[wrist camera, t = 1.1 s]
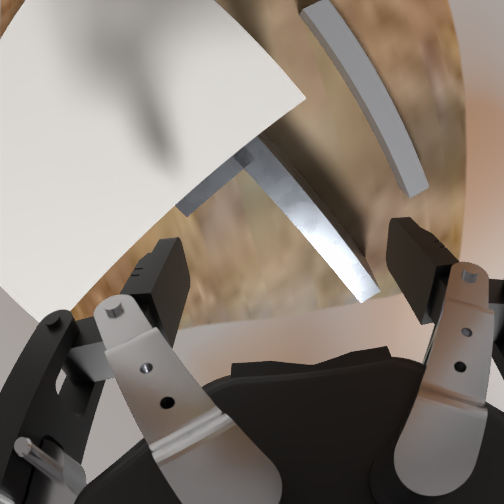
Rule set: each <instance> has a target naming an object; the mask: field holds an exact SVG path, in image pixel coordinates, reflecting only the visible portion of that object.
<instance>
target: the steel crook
mask: <svg viewBox="0 0 504 504" xmlns="http://www.w3.org/2000/svg"><path fill="white" fill-rule="evenodd" d="M243 169H245V170H246V171H247V172H248V174H249V175H250V176H251V177H252V178H253V179H254V180H255V181H256V182H257V183H258V184H259V185H260V187H261V188H262V189H263V190H264V191H265V192H266V193H267V194H268V195H269V196H270V198H271V199H272V200H273V201H274V202H275V203H276V204H277V205H278V206H279V208H280V209H281V210H282V211H283V212H284V213H285V214H286V215H287V217H288V218H289V219H290V220H291V221H292V222H293V223H294V224H295V226H296V227H297V228H298V229H299V230H300V231H301V232H302V234H303V235H304V236H305V237H306V238H307V239H308V241H309V242H310V243H311V244H312V245H313V246H314V248H315V249H316V250H317V251H318V252H319V253H320V255H321V256H322V257H323V258H324V259H325V260H326V262H327V263H328V264H329V265H330V266H331V268H332V269H333V270H334V271H335V272H336V273H337V275H338V276H339V277H340V278H341V279H342V281H343V282H344V283H345V284H346V286H347V287H348V288H349V289H350V290H351V292H352V293H353V294H354V295H355V297H356V298H357V299H358V300H359V301H360V303H362V302H364V301H365V300H367V299H368V298H370V297H372V296H373V295H375V294H376V293H378V292H380V288H379V286H378V284H377V282H376V280H375V277H374V275H373V273H372V271H371V269H370V267H369V265H368V262H367V260H366V258H365V257H364V255H363V254H362V253H361V251H360V250H359V248H358V247H357V246H356V244H355V243H354V242H353V240H352V239H351V238H350V236H349V235H348V233H347V232H346V231H345V229H344V228H343V227H342V225H341V224H340V223H339V222H338V220H337V219H336V218H335V216H334V215H333V214H332V212H331V211H330V210H329V209H328V207H327V206H326V205H325V203H324V202H323V201H322V200H321V198H320V197H319V196H318V195H317V193H316V192H315V191H314V190H313V188H312V187H311V186H310V185H309V183H308V182H307V181H306V180H305V179H304V177H303V176H302V175H301V174H300V172H299V171H298V170H297V169H296V168H295V166H294V165H293V164H292V163H291V162H290V161H289V159H288V158H287V157H286V156H285V155H284V153H283V152H282V151H281V150H280V149H279V148H278V147H277V145H276V144H275V143H274V142H273V141H272V140H271V139H270V137H269V136H268V135H267V134H266V133H265V132H264V131H262V132H261V133H260V134H259V135H257V136H256V137H255V138H253V139H252V140H251V141H250V142H248V143H247V144H246V145H245V146H243V147H242V148H241V149H240V150H239V151H237V152H236V153H235V154H234V155H232V156H231V157H230V158H229V159H228V160H226V161H225V162H224V163H223V164H222V165H220V166H219V167H218V168H217V169H216V170H214V171H213V172H212V173H211V174H210V175H209V176H207V177H206V178H205V179H204V180H203V181H202V182H200V183H199V184H198V185H197V186H196V187H195V188H194V189H192V190H191V191H190V192H189V193H188V194H187V195H186V196H185V197H183V198H182V199H181V200H180V201H179V202H178V203H177V204H176V205H175V206H176V207H177V208H178V209H179V210H180V211H181V212H182V213H183V214H184V215H185V216H186V217H188V216H189V215H190V214H191V213H192V212H193V211H194V210H196V209H197V208H198V207H199V206H200V205H201V204H202V203H204V202H205V201H206V200H207V199H208V198H209V197H211V196H212V195H213V194H214V193H215V192H216V191H218V190H219V189H220V188H221V187H222V186H223V185H225V184H226V183H227V182H228V181H229V180H231V179H232V178H233V177H234V176H235V175H237V174H238V173H239V172H240V171H241V170H243Z"/></svg>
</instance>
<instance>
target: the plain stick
mask: <svg viewBox="0 0 504 504" xmlns="http://www.w3.org/2000/svg"><path fill="white" fill-rule="evenodd" d="M299 15H300V17H301V18H302V19H303V21H304V22H305V23H306V25H307V26H308V27H309V29H310V30H311V31H312V33H313V34H314V36H315V37H316V38H317V40H318V41H319V43H320V44H321V45H322V47H323V48H324V50H325V51H326V53H327V54H328V56H329V57H330V59H331V60H332V62H333V63H334V65H335V66H336V68H337V69H338V71H339V73H340V74H341V76H342V77H343V79H344V81H345V82H346V84H347V86H348V87H349V89H350V91H351V92H352V94H353V96H354V97H355V99H356V101H357V103H358V104H359V106H360V108H361V110H362V111H363V113H364V115H365V117H366V119H367V121H368V122H369V124H370V126H371V128H372V130H373V132H374V134H375V136H376V138H377V140H378V142H379V144H380V146H381V148H382V150H383V152H384V154H385V156H386V158H387V160H388V162H389V165H390V167H391V169H392V171H393V173H394V175H395V178H396V180H397V182H398V185H399V187H400V189H401V190H402V191H403V192H404V193H405V194H406V195H407V196H408V197H409V198H412V197H414V196H415V195H417V194H419V193H420V192H422V191H424V190H426V189H427V188H429V185H428V182H427V180H426V177H425V174H424V172H423V169H422V166H421V164H420V161H419V159H418V156H417V154H416V151H415V149H414V147H413V144H412V142H411V140H410V137H409V135H408V133H407V131H406V129H405V126H404V124H403V122H402V120H401V118H400V116H399V114H398V112H397V110H396V108H395V106H394V104H393V102H392V100H391V98H390V96H389V94H388V92H387V90H386V88H385V86H384V85H383V83H382V81H381V79H380V77H379V75H378V74H377V72H376V70H375V69H374V67H373V65H372V63H371V62H370V60H369V58H368V57H367V55H366V53H365V52H364V50H363V49H362V47H361V45H360V44H359V42H358V41H357V39H356V38H355V36H354V35H353V33H352V32H351V30H350V29H349V27H348V26H347V24H346V23H345V21H344V20H343V19H342V17H341V16H340V14H339V13H338V12H337V10H336V9H335V8H334V6H333V5H332V4H331V2H330V1H329V0H321V1H319V2H316V3H314V4H312V5H310V6H308V7H306V8H304V9H303V10H302V11H301V13H300V14H299Z"/></svg>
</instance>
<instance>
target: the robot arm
mask: <svg viewBox="0 0 504 504" xmlns="http://www.w3.org/2000/svg"><path fill="white" fill-rule="evenodd" d="M386 263H387V267H388V270H389V271H390V273H391V275H392V276H393V278H394V279H395V281H396V283H397V284H398V286H399V288H400V289H401V291H402V293H403V294H404V296H405V298H406V299H407V301H408V303H409V304H410V306H411V308H412V310H413V311H414V313H415V315H416V317H417V318H418V320H419V322H420V324H421V325H423V324H428V323H434V324H435V326H434V329H433V332H432V335H431V338H430V342H429V344H428V347H427V351H426V354H425V357H424V360H423V363H422V364H421V363H419V362H416V361H413V360H410V359H405V358H399V357H391V354H390V352H389V349H388V347H387V346H384V347H379V348H373V349H367V350H360V351H354V352H350V353H347V354H344V355H341V356H339V357H336V358H333V359H330V360H327V361H324V362H321V363H318V364H315V365H305V364H295V363H284V362H276V361H263V362H248V363H233V364H232V367H231V375H229V376H225V377H222V378H220V379H216V380H214V381H212V382H210V383H208V384H206V385H204V386H203V387H201V386H200V385H199V384H198V383H197V381H196V380H195V379H194V378H193V376H192V375H191V374H190V372H189V371H188V370H187V368H186V367H185V366H184V365H183V363H182V362H181V360H180V359H179V358H178V356H177V355H176V354H175V352H174V351H173V350H172V348H173V345H174V341H175V337H176V334H177V330H178V327H179V323H180V320H181V316H182V313H183V309H184V306H185V302H186V299H187V295H188V292H189V289H190V275H189V270H188V266H187V262H186V258H185V254H184V250H183V246H182V242H181V240H180V238H179V237H176V238H167V239H160V240H159V241H158V243H157V245H156V246H155V248H154V250H153V251H152V253H148V254H146V255H145V256H144V257H143V258H142V259H140V260H139V262H138V263H137V265H136V267H135V268H134V269H135V270H133V272H132V273H131V277H129V279H128V280H127V282H126V284H125V286H124V287H123V289H122V291H121V293H120V294H119V295H115V296H112V297H109V298H107V299H106V300H104V301H103V302H101V303H100V304H99V305H98V306H97V307H96V309H95V311H94V316H93V317H89V318H85V319H82V320H78V321H75V319H74V317H73V315H72V313H71V312H70V311H69V310H65V309H62V310H57V311H54V312H52V313H50V314H48V315H47V316H46V317H44V318H43V319H42V320H41V322H40V323H39V325H38V326H37V328H36V330H35V331H34V333H33V334H32V336H31V338H30V339H29V341H28V343H27V344H26V346H25V348H24V350H23V351H22V353H21V355H20V357H19V358H18V360H17V362H16V363H15V365H14V367H13V369H12V371H11V373H10V375H9V377H8V378H7V380H6V382H5V384H4V386H3V388H2V390H1V392H0V504H504V412H502V411H500V410H499V409H497V408H496V407H494V406H492V405H490V404H489V403H487V402H486V401H485V399H486V393H487V388H488V381H489V374H490V365H491V357H492V358H493V360H494V362H495V364H496V366H497V367H498V369H499V371H500V373H501V375H502V377H503V379H504V280H498V279H489V277H488V274H487V273H486V271H485V270H484V269H482V268H481V267H479V266H478V265H475V264H472V263H469V262H459V261H458V260H457V259H456V258H455V257H454V255H453V254H452V253H451V252H450V251H449V250H448V249H447V248H445V246H444V245H443V244H442V243H441V242H439V240H438V239H437V238H436V237H435V236H434V235H433V234H432V233H430V232H428V231H426V230H424V229H423V228H421V227H420V226H419V225H418V224H416V223H415V222H414V221H413V220H412V219H411V218H410V217H402V218H392V219H391V220H390V223H389V231H388V242H387V251H386ZM61 368H62V370H63V371H64V372H65V374H66V375H67V376H66V378H65V380H64V383H63V385H62V388H61V390H60V392H59V395H58V394H57V392H56V386H55V384H56V379H57V377H58V375H59V373H60V370H61ZM110 378H115V379H116V381H117V383H118V385H119V388H120V390H121V392H122V394H123V396H124V398H125V401H126V402H127V405H128V407H129V409H130V411H131V413H132V415H133V417H134V419H135V421H136V423H137V425H138V427H139V429H140V430H141V432H142V434H143V436H144V438H143V439H142V440H140V441H139V442H138V443H137V444H136V445H135V446H134V447H132V448H131V449H130V450H129V451H128V452H126V453H125V454H124V455H123V456H122V457H121V458H119V459H118V460H117V461H116V462H115V463H113V464H112V465H111V466H110V467H109V468H107V469H106V470H105V471H104V472H102V473H101V474H100V475H99V476H98V477H96V478H95V479H94V480H92V482H90V483H89V484H88V485H87V484H86V474H85V471H84V469H83V467H82V466H81V463H82V459H83V455H84V451H85V447H86V443H87V440H88V436H89V433H90V429H91V426H92V422H93V419H94V415H95V412H96V409H97V405H98V402H99V399H100V396H101V393H102V389H103V386H104V383H105V380H106V379H110Z"/></svg>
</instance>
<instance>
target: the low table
mask: <svg viewBox="0 0 504 504" xmlns="http://www.w3.org/2000/svg"><path fill="white" fill-rule="evenodd" d="M305 99H306V97H305V96H304V95H303V94H302V92H301V91H300V90H299V89H298V88H297V86H296V85H295V84H294V83H293V82H292V81H291V79H290V78H289V77H288V76H287V75H286V74H285V72H284V71H283V70H282V69H281V68H280V67H279V66H278V64H277V63H276V62H275V61H274V60H273V59H272V58H271V57H270V56H269V54H268V53H267V52H266V51H265V50H264V49H263V48H262V47H261V46H260V45H259V44H258V43H257V42H256V41H255V40H254V38H253V37H252V36H251V35H250V34H249V33H248V32H247V31H246V30H245V29H244V28H243V27H242V26H241V25H240V24H239V23H238V22H237V21H236V20H235V19H234V18H233V17H231V16H230V15H229V14H228V13H227V12H226V11H225V10H224V9H223V8H222V7H221V6H220V5H219V4H218V3H216V2H215V1H214V0H25V2H24V3H23V5H22V6H21V8H20V9H19V11H18V12H17V13H16V15H15V16H14V18H13V20H12V21H11V23H10V24H9V26H8V27H7V29H6V31H5V32H4V34H3V36H2V37H1V39H0V286H1V287H2V288H3V289H4V290H5V291H6V292H7V293H8V294H9V295H10V296H11V297H12V298H13V299H14V300H15V301H16V302H17V303H18V304H19V305H20V306H21V307H22V308H24V309H25V310H26V311H27V312H28V313H29V314H30V315H31V316H32V317H34V318H35V319H36V320H37V321H38V322H39V323H40V322H41V320H42V319H43V318H44V317H46V316H47V315H48V314H50V313H52V312H54V311H57V310H62V309H65V310H69V311H71V309H72V308H73V307H74V306H75V305H76V304H77V303H78V302H79V301H80V299H81V298H82V297H83V296H84V295H85V294H86V293H87V292H88V291H89V290H90V289H91V287H92V286H93V285H94V284H95V283H96V282H97V281H98V280H99V279H100V278H101V277H102V276H103V275H104V274H105V273H106V272H107V271H108V270H109V269H110V268H111V267H112V265H113V264H114V263H115V262H116V261H117V260H118V259H119V258H120V257H121V256H122V255H123V254H124V253H125V252H126V251H127V250H128V249H129V248H130V247H131V246H132V245H133V244H134V243H135V242H136V241H137V240H139V239H140V238H141V237H142V236H143V235H144V234H145V233H146V232H147V231H148V230H149V229H150V228H151V227H152V226H153V225H154V224H155V223H156V222H157V221H158V220H159V219H161V218H162V217H163V216H164V215H165V214H166V213H167V212H168V211H169V210H170V209H171V208H172V207H174V206H175V205H176V204H177V203H178V202H179V201H180V200H181V199H182V198H183V197H185V196H186V195H187V194H188V193H189V192H190V191H191V190H192V189H194V188H195V187H196V186H197V185H198V184H199V183H200V182H202V181H203V180H204V179H205V178H206V177H207V176H209V175H210V174H211V173H212V172H213V171H214V170H216V169H217V168H218V167H219V166H220V165H222V164H223V163H224V162H225V161H226V160H228V159H229V158H230V157H231V156H232V155H234V154H235V153H236V152H237V151H239V150H240V149H241V148H242V147H243V146H245V145H246V144H247V143H248V142H250V141H251V140H252V139H253V138H255V137H256V136H257V135H259V134H260V133H261V132H262V131H264V130H265V129H266V128H268V127H269V126H270V125H271V124H273V123H274V122H275V121H277V120H278V119H279V118H281V117H282V116H283V115H285V114H286V113H287V112H289V111H290V110H291V109H293V108H294V107H295V106H297V105H298V104H300V103H301V102H302V101H304V100H305Z"/></svg>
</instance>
